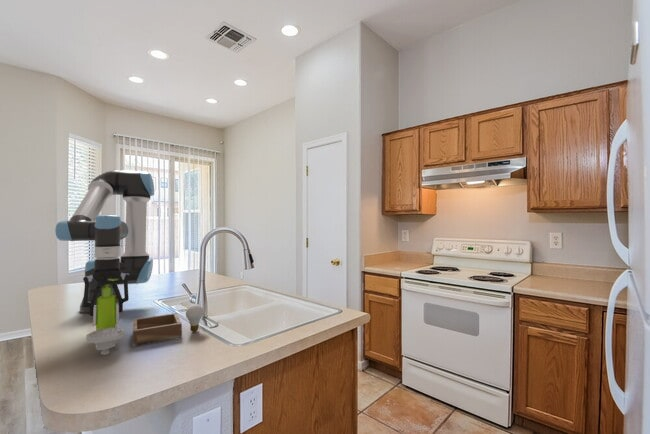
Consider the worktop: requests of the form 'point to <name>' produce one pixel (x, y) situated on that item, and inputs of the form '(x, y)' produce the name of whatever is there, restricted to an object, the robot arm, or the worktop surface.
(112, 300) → the soap dispenser
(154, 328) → the wooden box
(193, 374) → the worktop surface
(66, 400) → the worktop surface
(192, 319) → the light bulb
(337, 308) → the worktop surface
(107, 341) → the showerhead
